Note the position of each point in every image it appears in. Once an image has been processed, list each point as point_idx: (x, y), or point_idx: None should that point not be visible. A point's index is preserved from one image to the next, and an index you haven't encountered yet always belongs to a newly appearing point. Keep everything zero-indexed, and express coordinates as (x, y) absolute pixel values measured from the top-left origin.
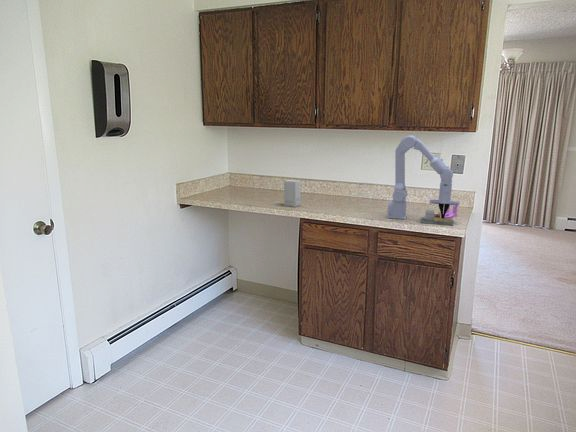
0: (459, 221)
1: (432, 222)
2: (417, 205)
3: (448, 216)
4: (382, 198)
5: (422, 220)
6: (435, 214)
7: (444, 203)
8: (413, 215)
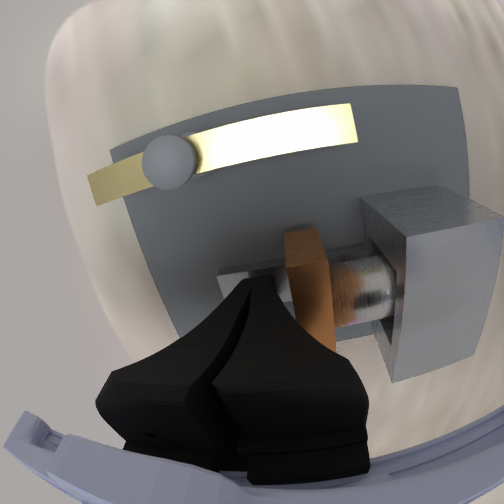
0: (152, 354)
1: None
2: None
3: None
4: None
5: (457, 183)
6: (365, 294)
7: (91, 442)
8: (487, 343)
